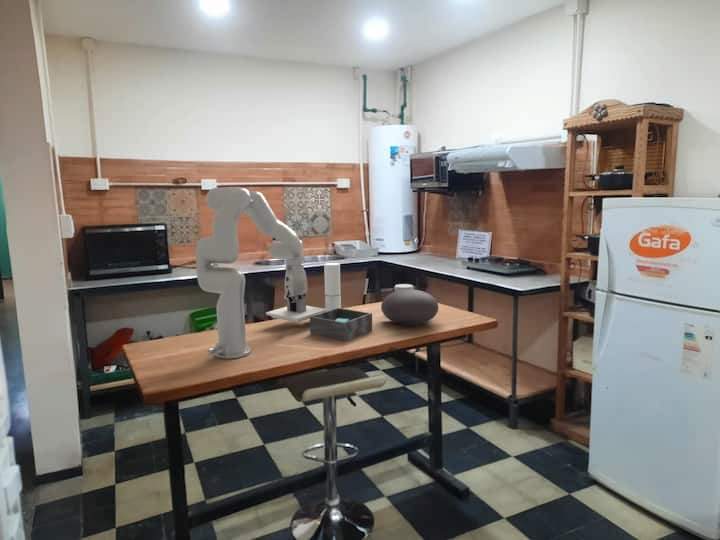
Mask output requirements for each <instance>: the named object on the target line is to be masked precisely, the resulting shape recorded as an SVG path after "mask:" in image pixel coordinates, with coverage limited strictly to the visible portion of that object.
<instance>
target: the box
mask: <svg viewBox="0 0 720 540" xmlns="http://www.w3.org/2000/svg"><path fill="white" fill-rule="evenodd" d="M337 318H340V319H349V321H347V322H340V321H335V320H336V319H337ZM309 329H310V330H309V332H310V335H313V336H316V337H317V336H318V337H323V338H326V339H327V338H328V339H332V340H336V341H341V342H348V341H350V340H352V339H355V338H357V337H359V336H360V337H361V336H362V335H364V334H368V333H369V332H372V331H373V312H367V311H359V310H355V309H354V310H353V309H349V308H342V307H341V308H336V309H333V310H329V311H326V312H323V313H320V314H317V315H314V316H310V319H309Z"/></svg>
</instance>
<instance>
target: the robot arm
mask: <svg viewBox="0 0 720 540" xmlns="http://www.w3.org/2000/svg"><path fill="white" fill-rule="evenodd" d="M265 197H266V196H264V195H263V193H261V192H259V191H256V190H248V189H247V188H244V187H239V186H229V187H212V188H211V189H210V190H209V191H208V192H207V194H206V196H205V202H206V204H207V206H208V208H209V209H210V210H212V211H214V212H215V214H214V215H213V219H212V225H211V228H212V236H210V235H209V236H203V237H202V238H200V239H199V241H198V242H197V243H196V246H195V253H194V254H195V265H196V266H195V267H196V275H197V276H196V278H197V282H198V286H199V287H200V288H201V290H202V291H204V292H206V293H215V294H219V297H218V299H217V303H216V309H215V310H216V322H217V338H218V342H217V343H216V344H215V346H214V347H211V348H208V349H207V354H208V355H212V354H214V355H215V357H216V358H219V359H225V360H226V359H227V360H230V359H238V358H243V357H246V356H248V355H249V354H250V353H251V347H249V346H248V345H247V339H246V325H245V324H246V322H245V306H244V305H245V304H244V302H245V301H244V300H245V299H244V297H245V296H244V295H245V287H246V276H245V274H244V273H243V271H241V270H240V269H238V268H236V267H230V266H219V264H223V265H224V264H225V265H226V264H227V265H229V264H233V263H235V262H237V261H238V259H239V255H240V254H239V253H240V251H239V249H240V248H239V246H240V245H239V233H238V229H239V228H238V226H239V219H240V217H241V216H242V214H243V215H244V214H247V215H248V216H249V218H250V219H251V220H252V222H253V224H254V226H255V227H256V228H257V231H259V232H260V233H261V234H263V235H265V236H267V237H270V238H273V239H275V241H273V242H271V243H270V245H269V247H268V254H269V256H270V257H272V258H273V259H277V260H285V267H284V270H285V271H286V272H285V274H284V275H285V277H284V295H283V298H284V299H286V301H287V300H288V301H289V302H290V311H293V312H296V302H295V298H296V297H297V299H304V300H305V296H306V295H307V293H308V291H309V287H308V279H307V273H306V270H305V264H304V263H305V262H304V243H303V240H301V239H300V238H299V236H298V235H297V234H296V232H295V231H294V230H293V229H291V228H290V227H289V226H287V225H286V224H285V223H284V222H282V221H281V220H279V219H278V218H277V216H276V214H275V213H274V211H273V210H272V207H271V206H270V204H269V202H268V201H267V199H266V198H265Z"/></svg>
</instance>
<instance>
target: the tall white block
mask: <svg viewBox="0 0 720 540" xmlns="http://www.w3.org/2000/svg"><path fill="white" fill-rule="evenodd" d="M323 269H324V271H323V272H324V276H323V277H324V303H325V304H324V305H325V308H324V309H327V311H329V310H333V309H336V308H342V303H341V300H342V298H341V295H342V294H341V264H340V262H339V263H338V262H327V263H324V264H323Z"/></svg>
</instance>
